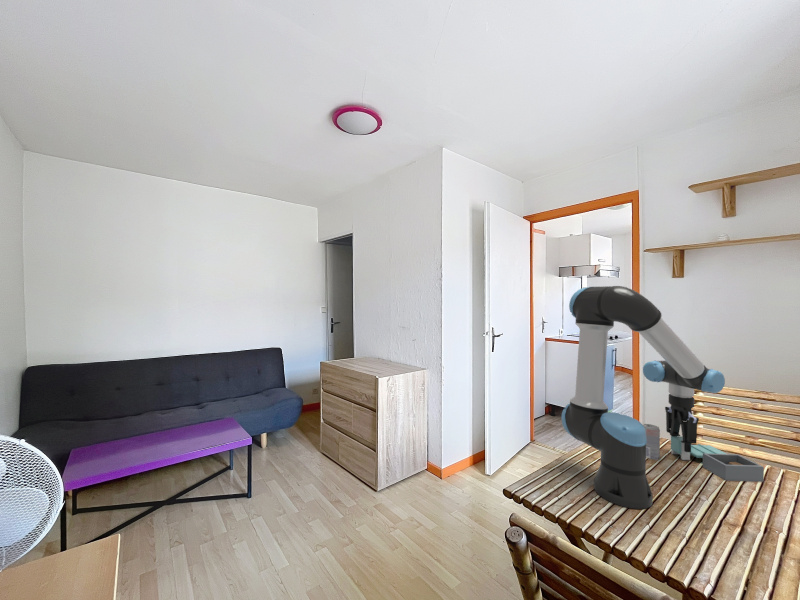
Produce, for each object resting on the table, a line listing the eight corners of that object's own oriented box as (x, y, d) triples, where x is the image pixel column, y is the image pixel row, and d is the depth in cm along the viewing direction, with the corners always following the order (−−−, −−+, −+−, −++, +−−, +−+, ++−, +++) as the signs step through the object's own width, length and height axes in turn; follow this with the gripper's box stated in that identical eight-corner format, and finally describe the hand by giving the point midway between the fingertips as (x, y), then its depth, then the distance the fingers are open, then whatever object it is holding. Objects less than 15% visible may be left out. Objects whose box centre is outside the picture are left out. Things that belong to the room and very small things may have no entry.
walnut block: (738, 475, 116) (738, 466, 116) (728, 471, 119) (728, 462, 119) (745, 474, 116) (745, 465, 116) (734, 470, 119) (735, 461, 119)
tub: (725, 482, 112) (725, 465, 112) (702, 468, 121) (702, 453, 121) (763, 483, 112) (763, 466, 112) (737, 469, 121) (737, 454, 121)
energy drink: (653, 454, 132) (654, 424, 132) (662, 461, 127) (663, 429, 127) (639, 454, 132) (639, 423, 132) (647, 460, 127) (647, 428, 127)
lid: (684, 458, 124) (684, 443, 124) (665, 447, 134) (665, 433, 134) (732, 460, 124) (732, 444, 124) (709, 448, 133) (710, 434, 133)
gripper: (711, 402, 120) (710, 468, 120) (674, 389, 137) (673, 447, 137) (689, 401, 121) (688, 467, 121) (655, 389, 138) (654, 446, 138)
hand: (680, 456), depth 129 cm, fingers closed on lid, 4 cm apart
